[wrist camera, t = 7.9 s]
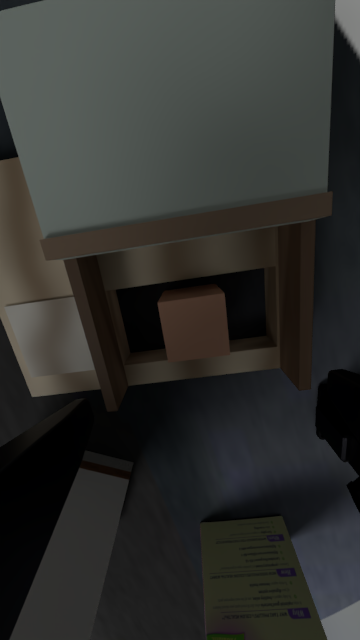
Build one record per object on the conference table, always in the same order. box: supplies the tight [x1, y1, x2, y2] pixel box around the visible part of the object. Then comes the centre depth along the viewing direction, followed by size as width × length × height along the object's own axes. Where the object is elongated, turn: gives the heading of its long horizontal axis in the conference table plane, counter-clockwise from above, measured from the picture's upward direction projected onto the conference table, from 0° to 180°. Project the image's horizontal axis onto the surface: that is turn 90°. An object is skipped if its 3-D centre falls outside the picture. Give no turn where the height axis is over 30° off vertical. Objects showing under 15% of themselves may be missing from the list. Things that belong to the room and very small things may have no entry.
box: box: [200, 516, 327, 640], centre depth 23 cm, size 10×6×12 cm, turn 100°
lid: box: [0, 0, 335, 261], centre depth 10 cm, size 14×10×2 cm
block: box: [158, 283, 230, 363], centre depth 17 cm, size 4×4×5 cm
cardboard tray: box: [0, 157, 316, 412], centre depth 16 cm, size 23×18×6 cm
